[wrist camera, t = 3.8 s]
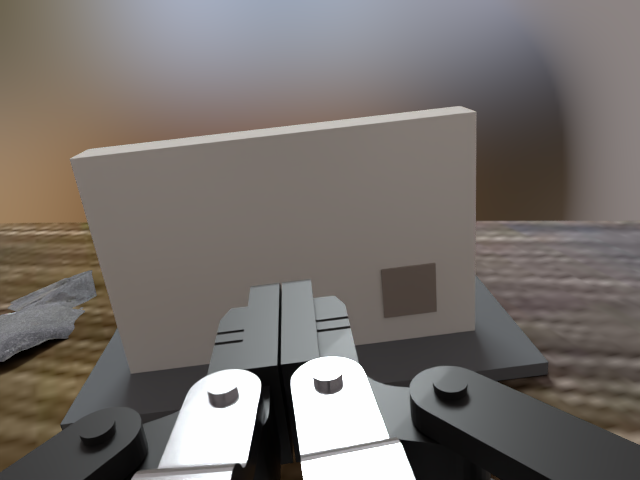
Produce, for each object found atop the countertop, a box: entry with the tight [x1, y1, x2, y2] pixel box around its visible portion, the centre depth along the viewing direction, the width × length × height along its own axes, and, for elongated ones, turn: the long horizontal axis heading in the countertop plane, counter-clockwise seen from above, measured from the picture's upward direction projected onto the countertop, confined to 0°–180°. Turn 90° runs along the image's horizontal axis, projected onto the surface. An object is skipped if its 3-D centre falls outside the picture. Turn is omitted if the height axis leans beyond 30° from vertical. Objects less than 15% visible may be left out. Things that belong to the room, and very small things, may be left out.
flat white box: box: [70, 106, 476, 374], centre depth 23 cm, size 16×2×10 cm, turn 94°
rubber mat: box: [60, 275, 548, 431], centre depth 28 cm, size 20×15×1 cm
